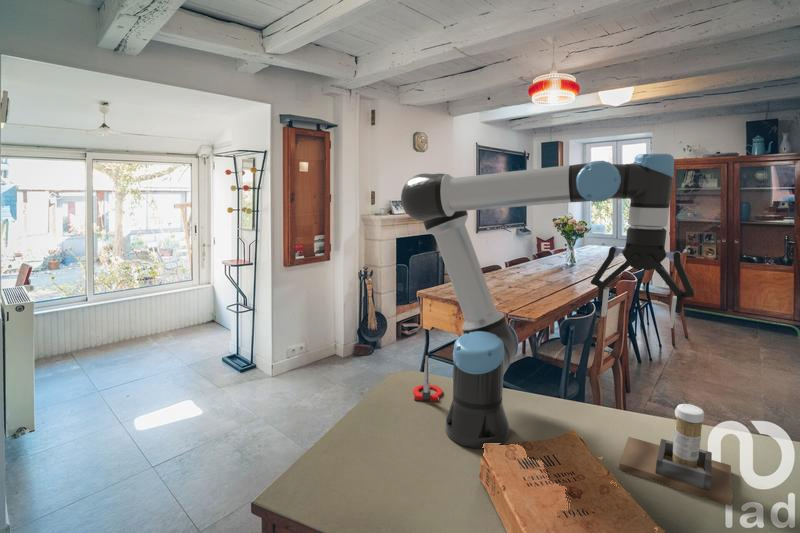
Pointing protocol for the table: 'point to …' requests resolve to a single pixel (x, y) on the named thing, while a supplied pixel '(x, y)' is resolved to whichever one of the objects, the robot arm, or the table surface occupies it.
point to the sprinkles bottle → (687, 435)
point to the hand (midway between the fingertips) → (636, 320)
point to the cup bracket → (678, 469)
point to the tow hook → (427, 387)
